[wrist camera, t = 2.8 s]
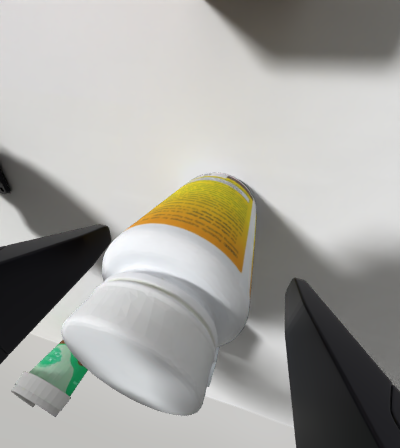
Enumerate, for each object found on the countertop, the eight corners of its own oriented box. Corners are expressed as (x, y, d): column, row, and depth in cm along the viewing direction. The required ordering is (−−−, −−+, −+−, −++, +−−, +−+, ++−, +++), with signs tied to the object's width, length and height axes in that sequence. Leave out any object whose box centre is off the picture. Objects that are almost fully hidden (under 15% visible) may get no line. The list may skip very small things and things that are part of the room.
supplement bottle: (172, 179, 13) (-11, 287, 4) (250, 161, 11) (195, 303, 2) (193, 243, 15) (102, 398, 6) (262, 238, 13) (258, 462, 4)
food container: (86, 317, 30) (18, 391, 22) (111, 340, 31) (56, 418, 23) (61, 326, 36) (0, 385, 28) (83, 344, 38) (31, 406, 29)
